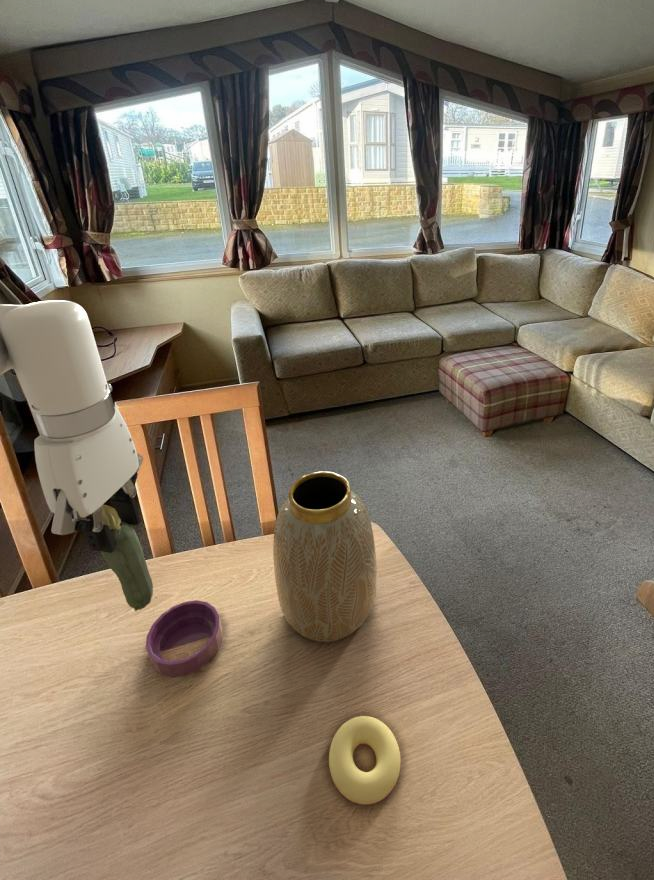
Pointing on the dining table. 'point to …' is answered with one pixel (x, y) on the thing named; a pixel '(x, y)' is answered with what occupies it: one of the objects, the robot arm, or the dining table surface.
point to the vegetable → (128, 560)
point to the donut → (345, 772)
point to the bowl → (184, 637)
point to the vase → (324, 558)
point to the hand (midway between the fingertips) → (116, 534)
